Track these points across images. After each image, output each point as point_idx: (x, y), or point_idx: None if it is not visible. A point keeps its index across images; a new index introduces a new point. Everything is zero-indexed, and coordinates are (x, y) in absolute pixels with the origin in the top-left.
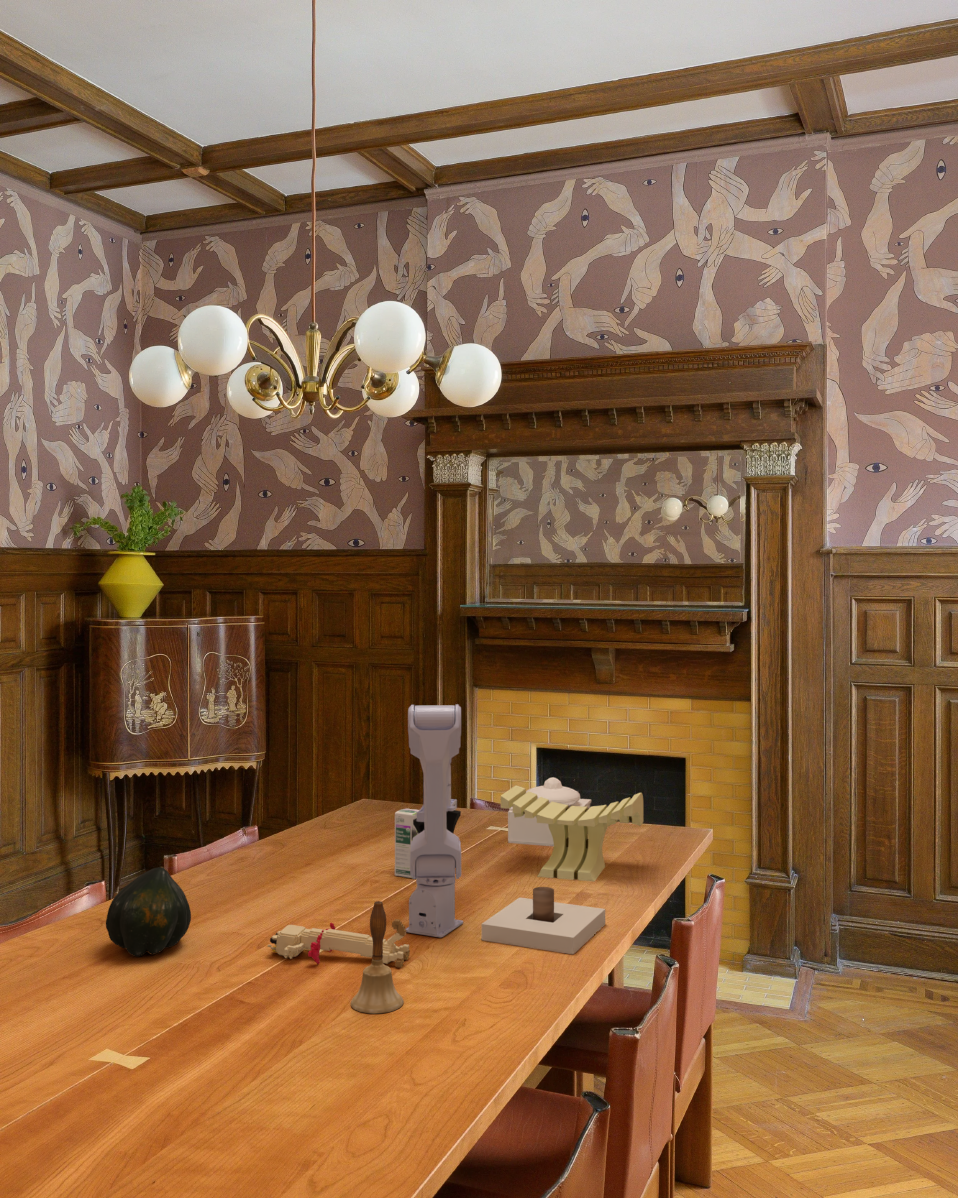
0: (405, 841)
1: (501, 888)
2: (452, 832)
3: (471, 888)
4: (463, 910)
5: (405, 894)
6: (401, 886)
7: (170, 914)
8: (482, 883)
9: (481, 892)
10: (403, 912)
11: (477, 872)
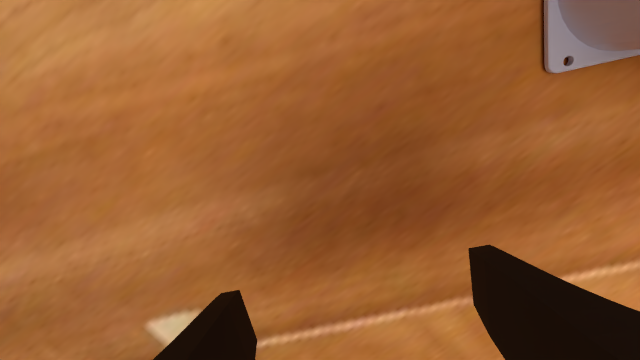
0: None
1: (90, 85)
2: (181, 354)
3: (171, 173)
4: (392, 27)
5: (360, 290)
6: (305, 343)
7: None
8: (101, 178)
9: (180, 115)
10: (518, 184)
11: (30, 265)
